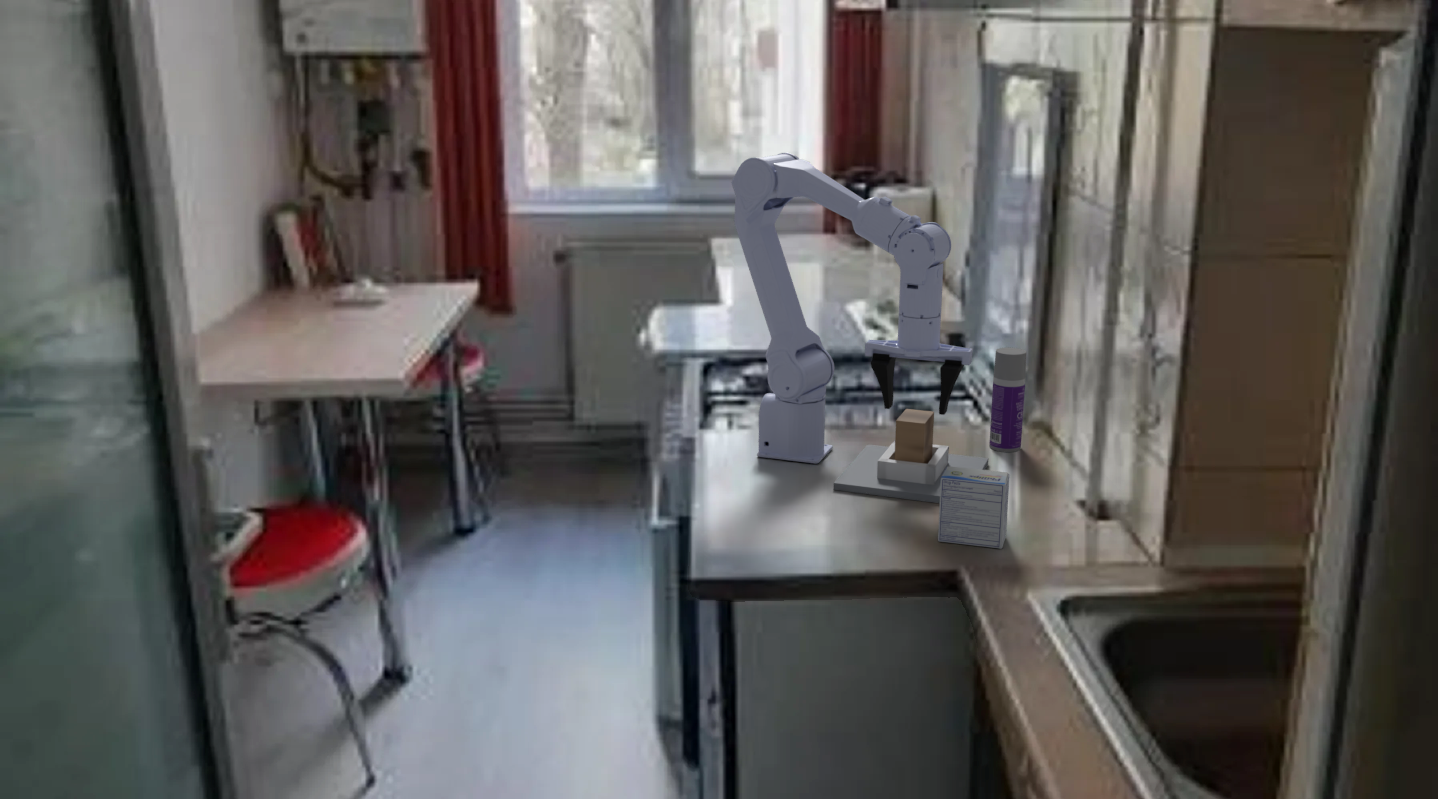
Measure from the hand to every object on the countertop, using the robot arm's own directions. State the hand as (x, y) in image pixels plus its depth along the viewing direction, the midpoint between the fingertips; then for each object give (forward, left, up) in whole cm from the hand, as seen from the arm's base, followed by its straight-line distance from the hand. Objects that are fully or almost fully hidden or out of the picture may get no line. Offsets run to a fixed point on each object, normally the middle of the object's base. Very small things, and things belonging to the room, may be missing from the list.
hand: (915, 409), depth 177 cm
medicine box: (+12, -20, -10) cm, 25 cm away
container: (+10, +18, -10) cm, 23 cm away
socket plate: (0, 0, -10) cm, 10 cm away
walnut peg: (0, 0, -9) cm, 9 cm away
